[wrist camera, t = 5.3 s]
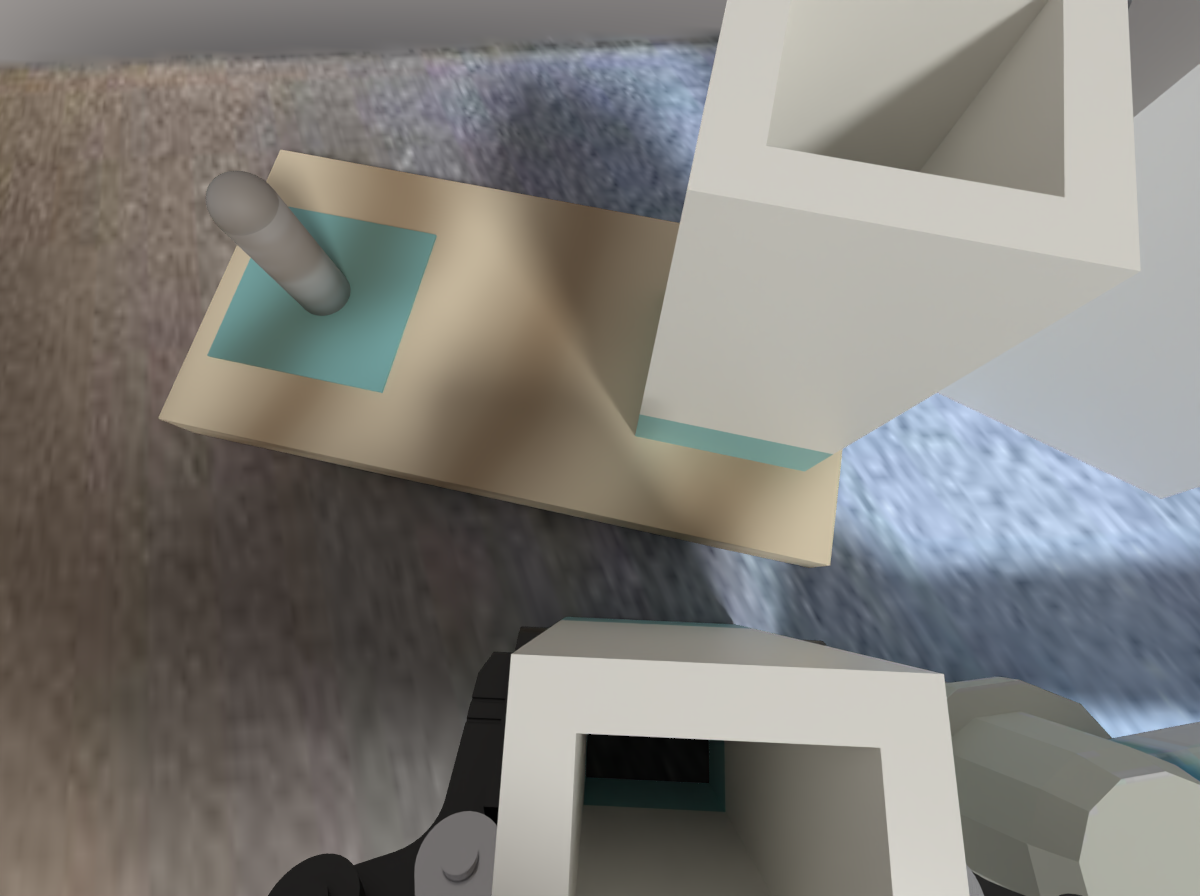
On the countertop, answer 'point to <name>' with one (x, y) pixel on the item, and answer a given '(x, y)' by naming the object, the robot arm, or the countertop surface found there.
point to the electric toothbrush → (1072, 796)
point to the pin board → (469, 354)
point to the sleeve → (726, 768)
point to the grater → (1128, 298)
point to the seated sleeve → (887, 211)
